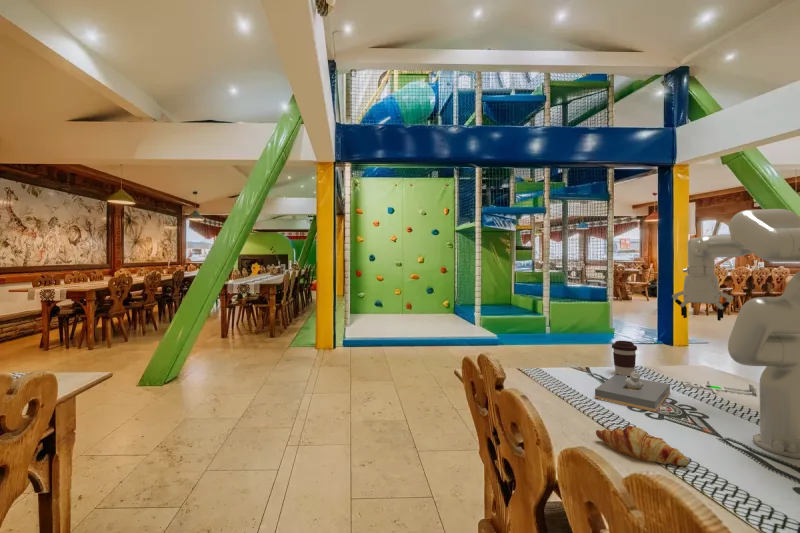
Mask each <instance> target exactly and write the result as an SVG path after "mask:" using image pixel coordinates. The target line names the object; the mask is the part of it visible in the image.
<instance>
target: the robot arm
mask: <svg viewBox="0 0 800 533" xmlns="http://www.w3.org/2000/svg"><path fill="white" fill-rule="evenodd" d="M728 232H729V234H720V235H719V234H715V235H714V234H711V235H702V236H699V237H692V238H690V239H688V240H687V267H686V268H683V269H682V272H683V273H687V275H685V276H684V280H683V290H682V291H679V292H677V293H674V294H672V295H671V298H672V299H673V301H674V302H675V303H676V304H677V305H678V306H679V307H680V312H681V316H683V317H682V318H683V319H686V318H688V307H687V304H689V303H691V304H707V305H708V304H709V305H710V304H713V305H715V306H716V307H717V309H716V310H717V311H716V312H717V315H716V316H717V317H716V318H717V321H719V322H720V321H722V319H724V309H725V308H727V307H728V306H730V305H731V303H732V302H733V300H734V296H732V295H729V294H728V293H725V292H722V291H721V290H720V282H719V278H718V275H715V273H716V272H715V268H716V266H715V258H739V257H743V256H747V255H751V254H753V255H754V256H756V257H757V258H759V259H761V260H763V261H767V262H771V263H792V262H793V263H795V262H796V263H800V216H799V215H798V214H797V213H796V212H794V211H792V210H789V209H785V208H769V209H768V208H766V209H764V208H763V209H762V208H761V209H745V210H741V211H739V212H737V213H736V214H735V215H733V216H732V217H731V219H730V220H729V224H728ZM682 295H683V297H682V298H683V301H681V300H680V299H679V296H682ZM721 297H723V298H724V299H726V301H725V302H724V303H721V302H720V300H721ZM727 341H728V342H727V351H728V354H729V356H730V358H731V359H732V360H733V361H734V362H736V363H737V364H740V365H741V366H742V365H743V366H749V367H765V368H763V369H764V370H762V373H761V374H760V377H759V433H756V434H754V435H752V442H753V443H754V444H755V445H756V446H758V447H760V448H761V449H764V450H766V451H769V452H770V453H774V454H776V455H781V456H784V457H790V458H794V459H800V270H798V271H797V272H796V273H795V274H794V275H793V276H792V277H791V278H790V279H789V281H788V283H787V285H786V288H785V290H784V292H783V293H782V294H781V295H779V296H759V297H754V298H753V297H752V298H750V299H749V300H747V301H745V303H743V305H741V307H740V309H739V311H738V313H737V317H736V319H735V321H734V324H733V327H732V330H731V332H730V335H729V337H728V340H727Z"/></svg>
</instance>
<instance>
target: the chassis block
mask: <svg viewBox="0 0 800 533" xmlns="http://www.w3.org/2000/svg"><path fill="white" fill-rule="evenodd" d="M627 378H630V377H626V376H621V375H617V374H615V375H612V376H611V377H610V378H609V379H607V380H606V381H604V382H603V383H601V384H600V385H599V386H597V387H596V388H594V399H595V398H599V399H598V400H600V399H603V400H602V401H604V400H607V401H606V402H609V401H610V402H609V403H613V402H614V403H613V404H619V405H623V406H627V407H632V408H637V409H640V410H645V411H650V412H653V413H654V412H655V413H656V412H657V411H658V409H659V408H660V406H661V405H662V404H663V403H664V401H665V400H666V399H667V398H668V396H670V394H671V383H667V382H659V381H654V380H649V379H642V378H640V379H639V380H638V381H640V382H641V383H642V387H641V388H640V389H638V390H632V389H629V388H628V387H627V386H626V384H625V381H626V379H627Z"/></svg>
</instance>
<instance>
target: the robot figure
mask: <svg viewBox="0 0 800 533" xmlns="http://www.w3.org/2000/svg"><path fill="white" fill-rule="evenodd" d="M681 384H682V387H683V388H691V389H698V390H701V389H703V390H706V391H711V393H712V395H714V394H715V396H716V395H718V392H720V391H722V392H721V393H727V392H730V393H729V394H735V393H737V395H742V394H744V395H743V396H750V395H752V396H751V397H757V388H756V387H754V384H748V389H743V388H738V387H737V388H735V387H729V386H721V385H714V384H712V382H711V381H709V380H708V381H707V382H706V383H705V384H704V383H702V384H700V383H698V382H691V381H690V382H689V381H681ZM726 389H727V390H726ZM742 391H743V392H742ZM749 392H752V393H749Z"/></svg>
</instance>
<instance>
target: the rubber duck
mask: <svg viewBox="0 0 800 533" xmlns="http://www.w3.org/2000/svg"><path fill="white" fill-rule="evenodd" d="M639 379H641V375H640V372H638V370H637V369H635V370H634V371H633V372H632V373H631V374H630V378H627V379H626V381H625V384H626V386H627V387H628V388H629V389H632V390H638V389H640V388H641V387H642V383H641V382H640V381H638V380H639Z"/></svg>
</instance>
